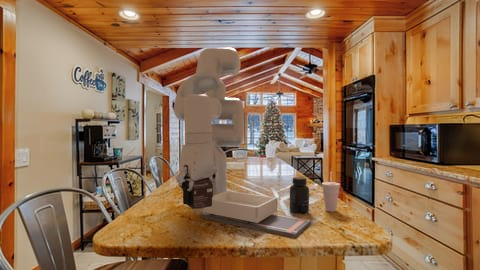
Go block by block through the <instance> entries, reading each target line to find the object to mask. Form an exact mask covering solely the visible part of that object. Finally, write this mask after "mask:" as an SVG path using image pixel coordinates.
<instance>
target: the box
mask: <svg viewBox="0 0 480 270" xmlns="http://www.w3.org/2000/svg"><path fill="white" fill-rule="evenodd" d="M189 183H190V182H188V183H187V184H188V185H189ZM192 191H193V205H191V206H190V205H187V206H188V207H189V208H190V209H191V210H196V209H197V210H198V209H203V208H205V207H211V206H212V181H211V180H209V179H207V178H206V179H202V180H199V181H195V182H194V183H193V187H192Z"/></svg>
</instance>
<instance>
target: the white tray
mask: <svg viewBox="0 0 480 270" xmlns="http://www.w3.org/2000/svg"><path fill="white" fill-rule="evenodd" d="M202 209H203V213H209V214H210V215H211V216H212V215H220V216H225V217H230V218H235V219H240V220H245V221H247V223H251V222H255V223H258V222H260V221H261V220H263V219H265V218H267V217H268V216H270V215H272V214H276V213H277V212H278V197H276V196H268V195H267V196H266V195H260V194H254V193H253V194H252V193H245V192H239V191H231V190H227V191H225V192H222V193H219V194H216V195H213V197H212V206H211V207H205V208H202Z"/></svg>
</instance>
